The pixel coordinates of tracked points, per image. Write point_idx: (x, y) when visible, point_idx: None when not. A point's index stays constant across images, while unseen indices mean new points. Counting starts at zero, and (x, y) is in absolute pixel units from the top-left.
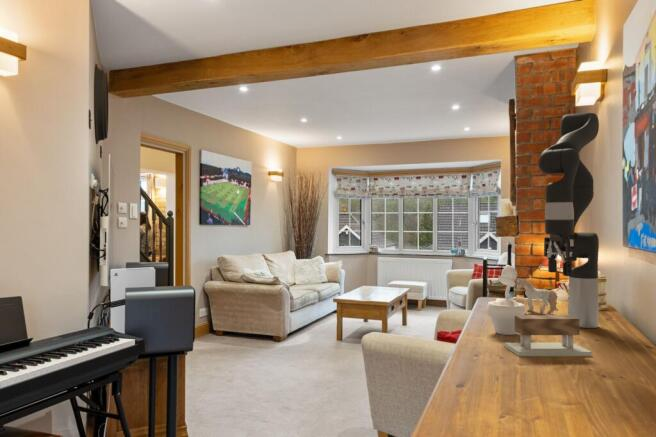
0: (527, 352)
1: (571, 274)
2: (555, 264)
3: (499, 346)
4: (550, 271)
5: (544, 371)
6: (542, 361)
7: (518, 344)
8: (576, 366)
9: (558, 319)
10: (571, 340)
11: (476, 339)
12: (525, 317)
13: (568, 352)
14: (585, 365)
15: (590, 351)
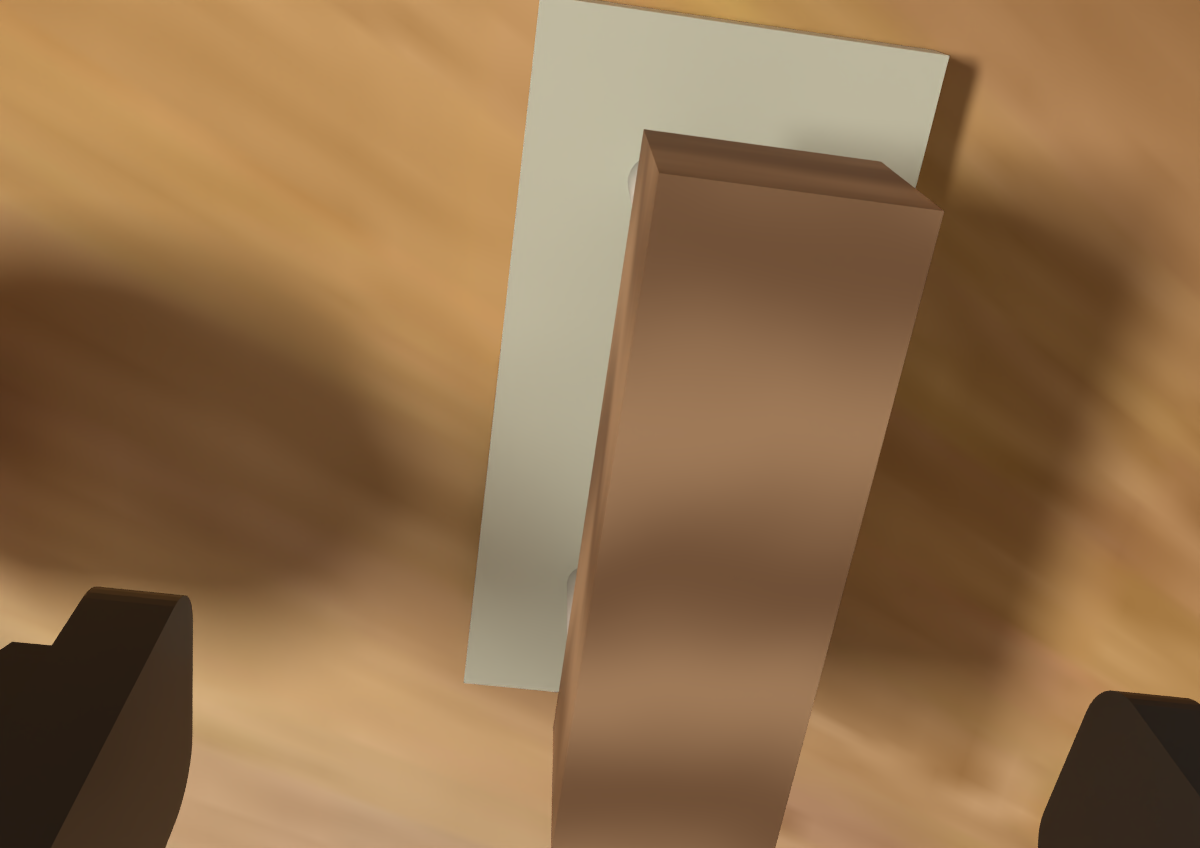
0: None
1: (1195, 710)
2: (85, 821)
3: (447, 689)
4: (182, 772)
5: None
6: (948, 596)
7: (543, 601)
8: (1151, 423)
9: (866, 496)
10: None
11: None
12: (700, 809)
13: None
14: (1156, 330)
15: (935, 61)
